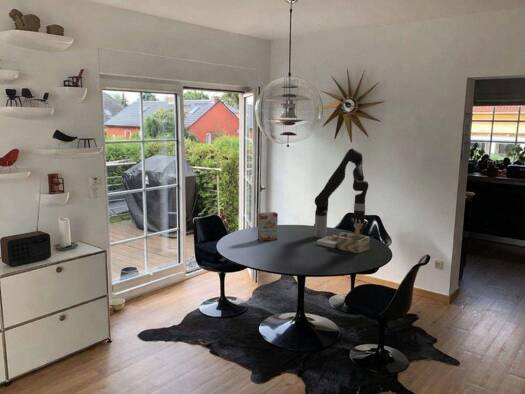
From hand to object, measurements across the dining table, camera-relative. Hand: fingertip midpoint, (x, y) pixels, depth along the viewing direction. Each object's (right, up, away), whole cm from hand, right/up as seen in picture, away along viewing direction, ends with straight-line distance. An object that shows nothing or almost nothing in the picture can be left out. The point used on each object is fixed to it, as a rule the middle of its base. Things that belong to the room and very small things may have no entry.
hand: (358, 233), depth 316 cm
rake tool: (-1, -4, 0) cm, 4 cm away
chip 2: (-4, -3, +4) cm, 7 cm away
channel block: (-5, -11, +6) cm, 13 cm away
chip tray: (-17, -9, +15) cm, 25 cm away
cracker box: (-64, -7, +25) cm, 69 cm away
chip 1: (-9, -2, +8) cm, 13 cm away
